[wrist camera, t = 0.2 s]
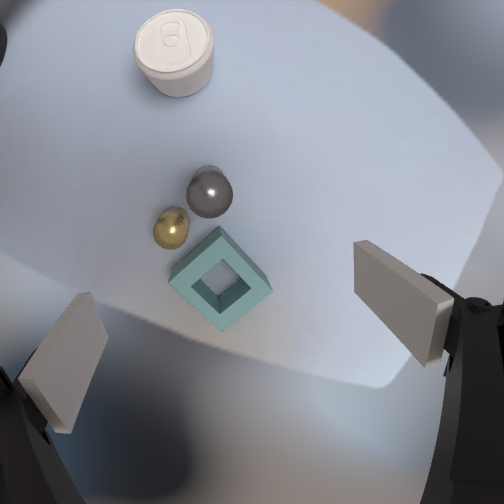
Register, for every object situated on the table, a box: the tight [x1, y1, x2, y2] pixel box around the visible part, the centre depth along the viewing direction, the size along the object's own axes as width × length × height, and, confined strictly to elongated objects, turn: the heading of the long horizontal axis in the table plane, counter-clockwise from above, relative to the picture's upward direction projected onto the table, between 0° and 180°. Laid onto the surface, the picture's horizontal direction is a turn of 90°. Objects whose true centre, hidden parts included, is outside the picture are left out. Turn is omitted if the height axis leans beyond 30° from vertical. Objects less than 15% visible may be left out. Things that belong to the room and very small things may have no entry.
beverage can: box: [133, 9, 214, 97], centre depth 28 cm, size 8×8×12 cm
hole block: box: [168, 226, 273, 332], centre depth 41 cm, size 10×9×5 cm
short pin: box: [153, 207, 190, 249], centre depth 37 cm, size 4×4×6 cm
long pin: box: [186, 165, 233, 218], centre depth 32 cm, size 4×4×14 cm
